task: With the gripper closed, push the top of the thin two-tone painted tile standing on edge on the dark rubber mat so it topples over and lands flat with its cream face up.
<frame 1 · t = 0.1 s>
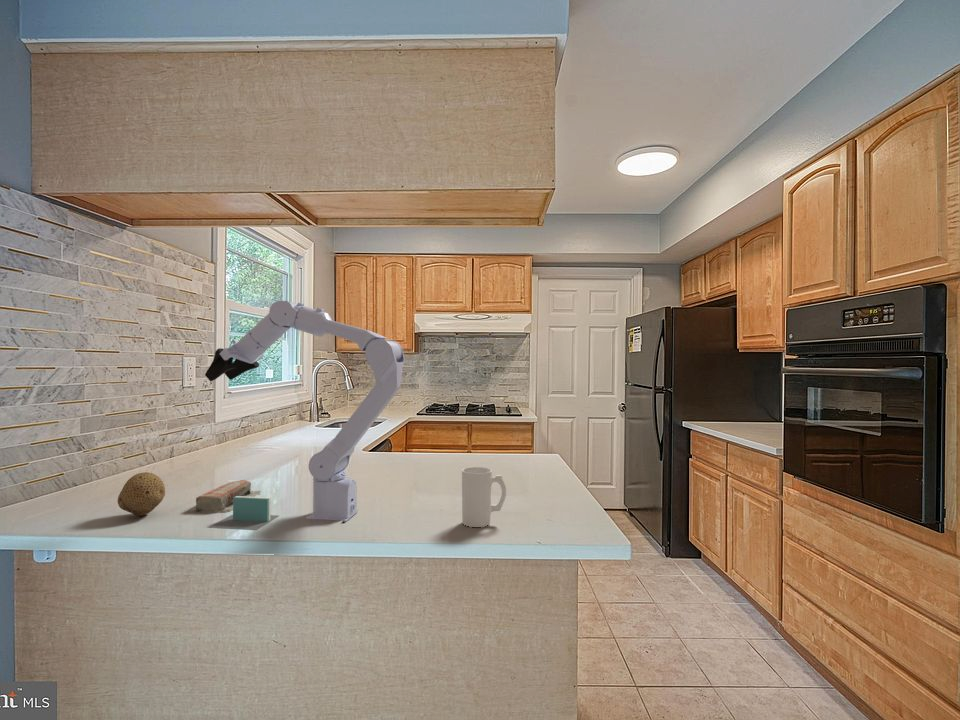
hand: (218, 377, 125), 32 cm above the countertop, tool tilted 50°, fingers open, 7 cm apart
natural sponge: (143, 517, 121), on the countertop
old brick: (226, 506, 131), on the countertop
mug: (483, 524, 118), on the countertop
tile: (251, 520, 117), point 1 cm above the countertop, touching mat
mat: (244, 524, 116), on the countertop
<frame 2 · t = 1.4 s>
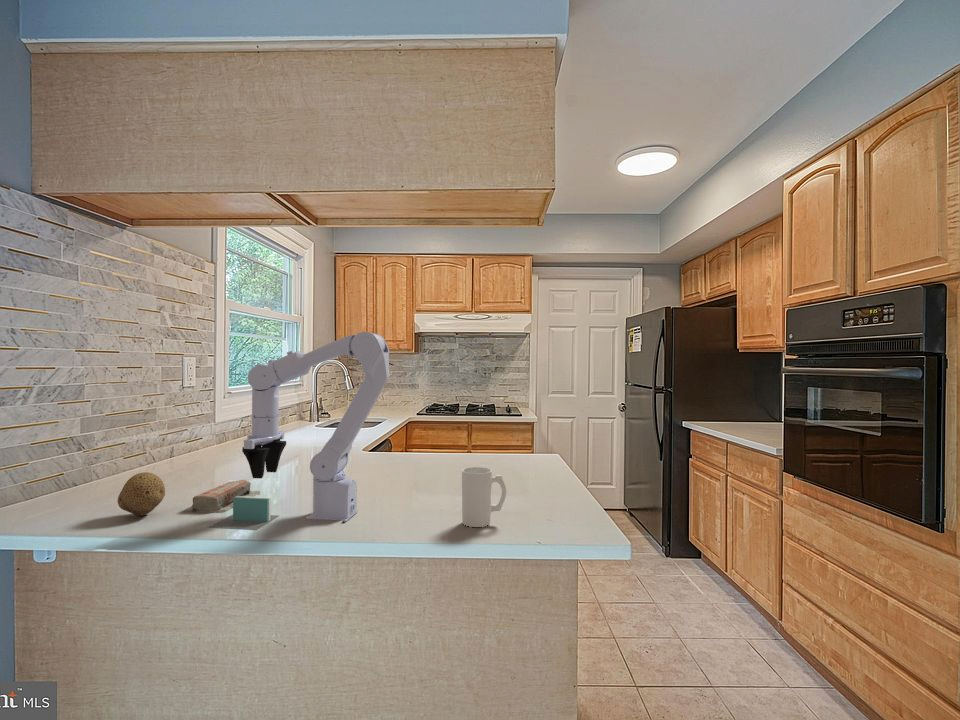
hand: (264, 474, 122), 9 cm above the countertop, tool pointing down, fingers open, 6 cm apart
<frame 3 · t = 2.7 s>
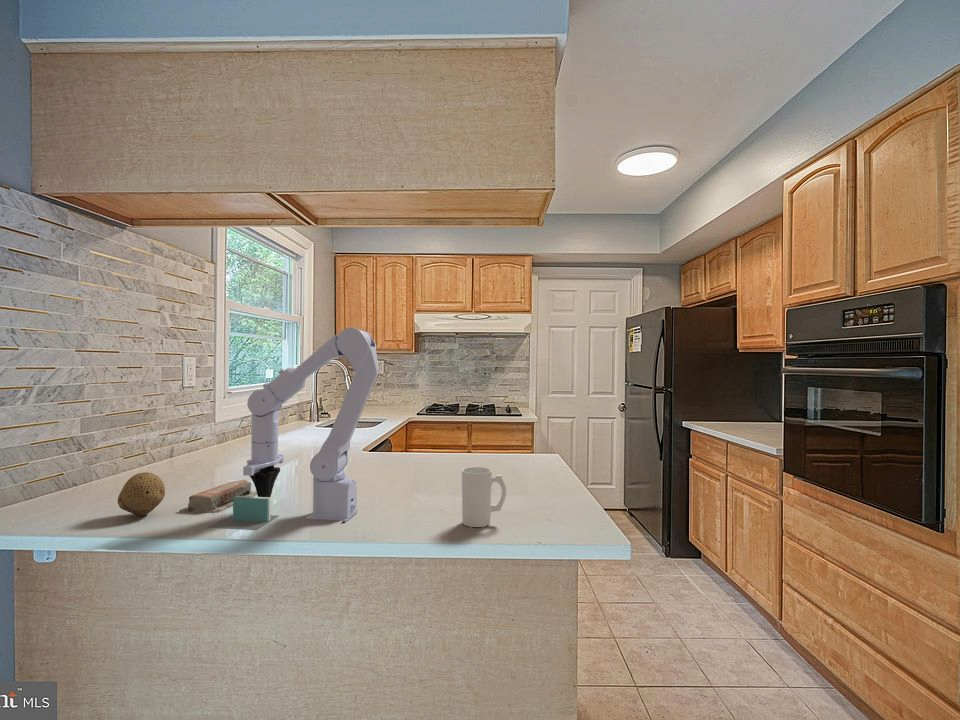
hand: (264, 500, 122), 4 cm above the countertop, tool pointing down, fingers closed
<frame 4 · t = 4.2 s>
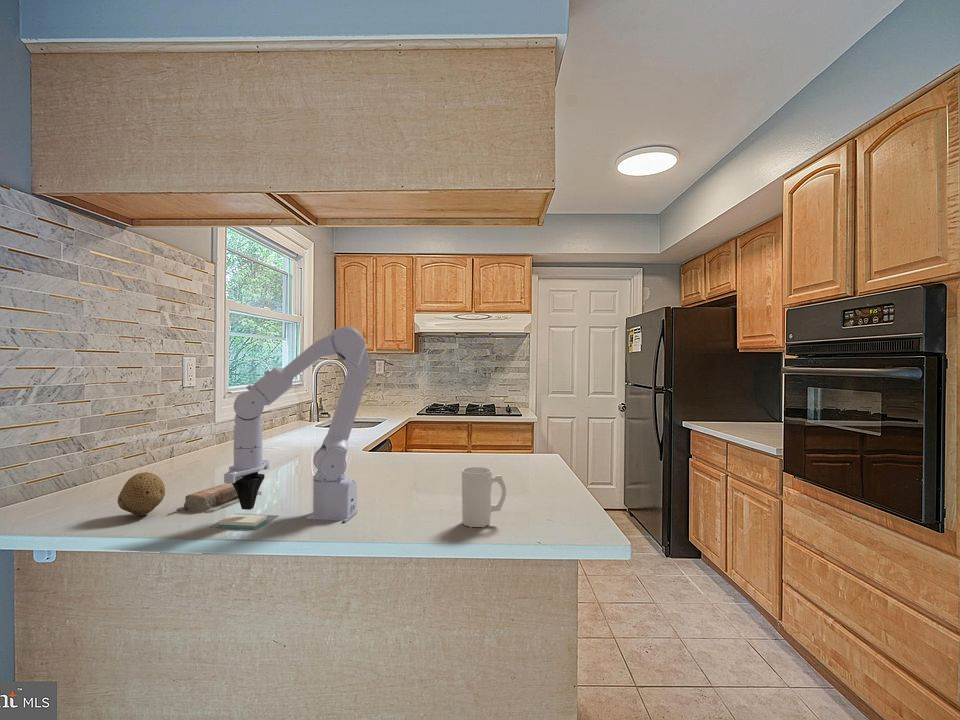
hand: (247, 508, 115), 4 cm above the countertop, tool pointing down, fingers closed
tile: (249, 517, 116), point 1 cm above the countertop, tilted 90°, touching mat
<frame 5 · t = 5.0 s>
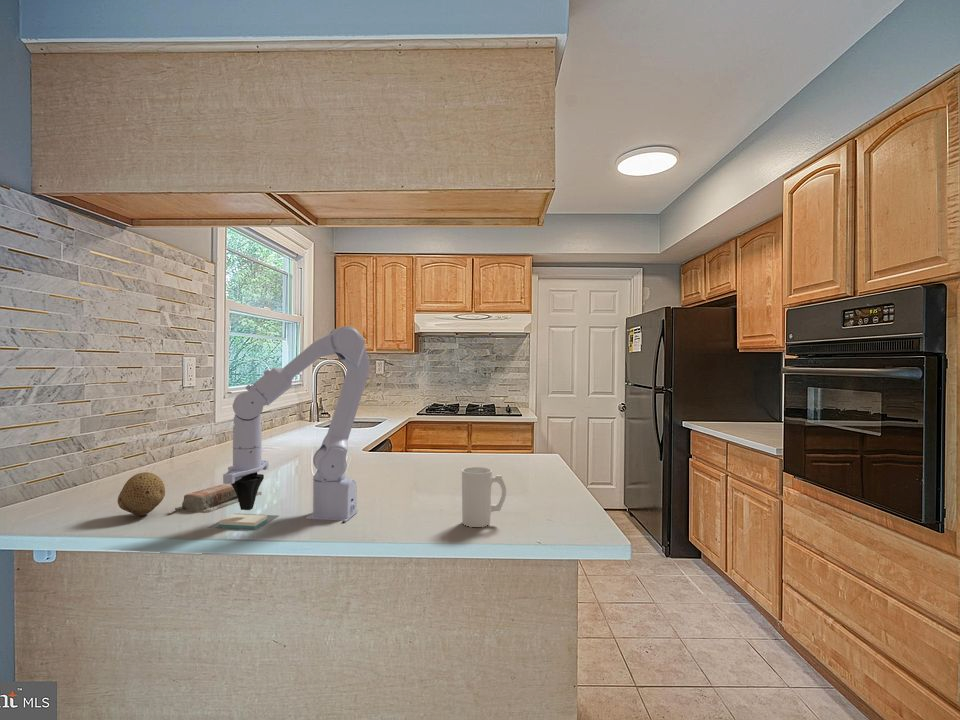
hand: (246, 509, 115), 4 cm above the countertop, tool pointing down, fingers closed
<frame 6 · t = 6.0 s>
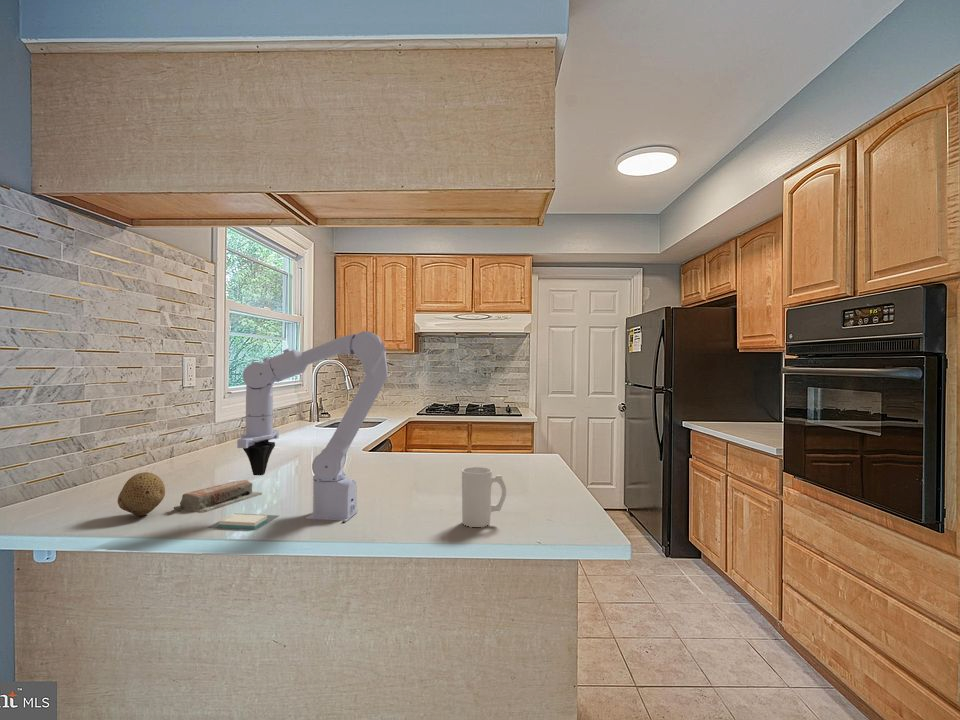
hand: (258, 474, 120), 10 cm above the countertop, tool pointing down, fingers closed
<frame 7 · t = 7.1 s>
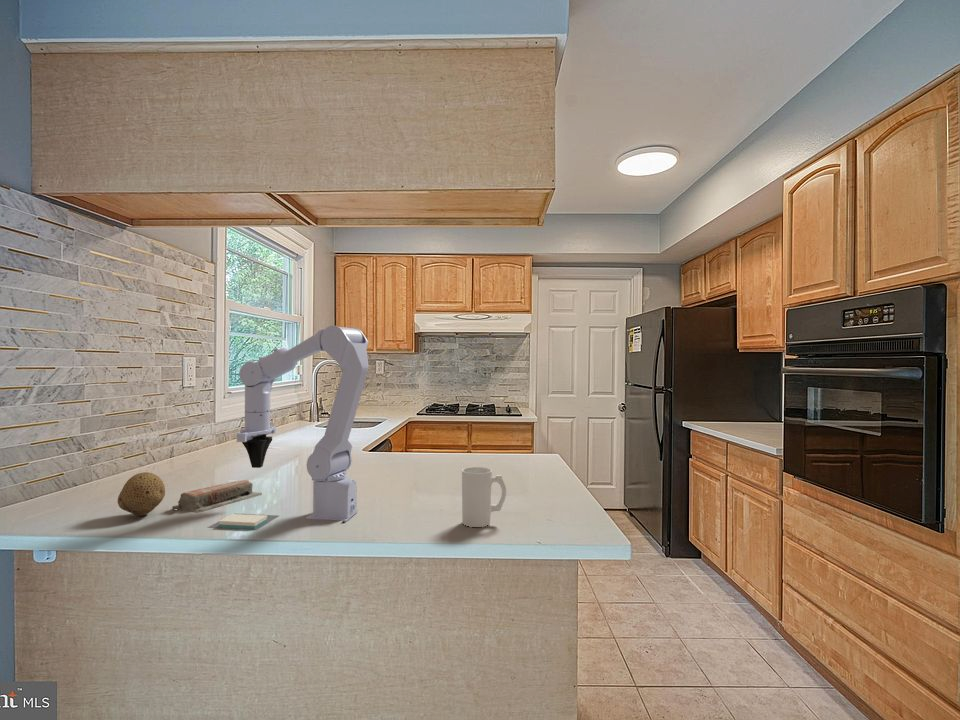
hand: (257, 467, 128), 10 cm above the countertop, tool pointing down, fingers closed
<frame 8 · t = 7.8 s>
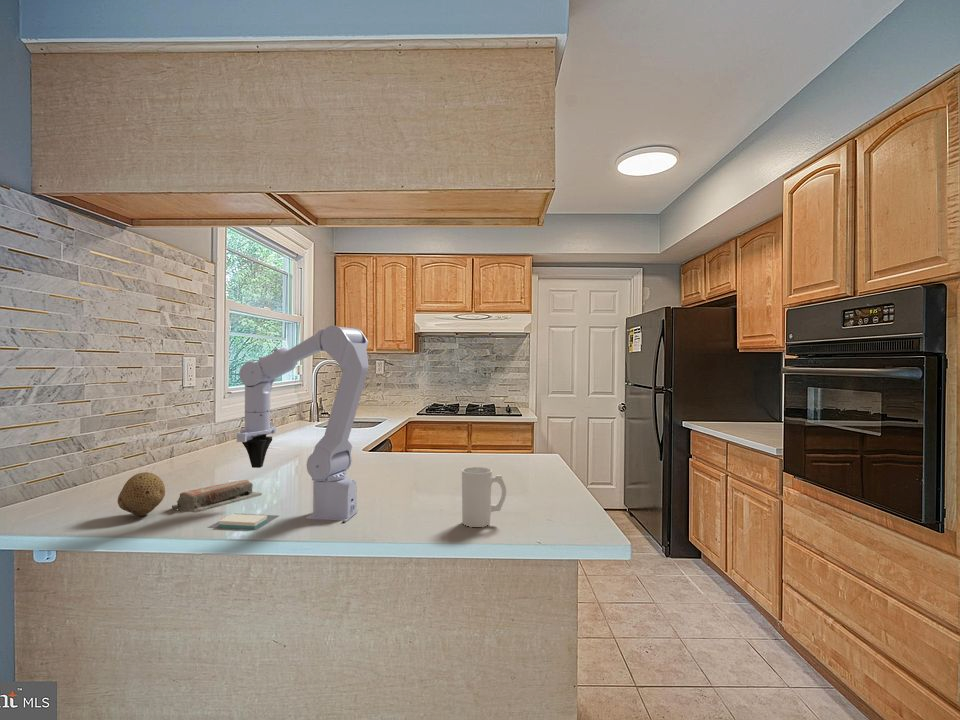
hand: (257, 467, 128), 10 cm above the countertop, tool pointing down, fingers closed
at the end: tile tilted 90°; tile inside the target area (1.4 cm from its centre), point 1.3 cm above the countertop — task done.
